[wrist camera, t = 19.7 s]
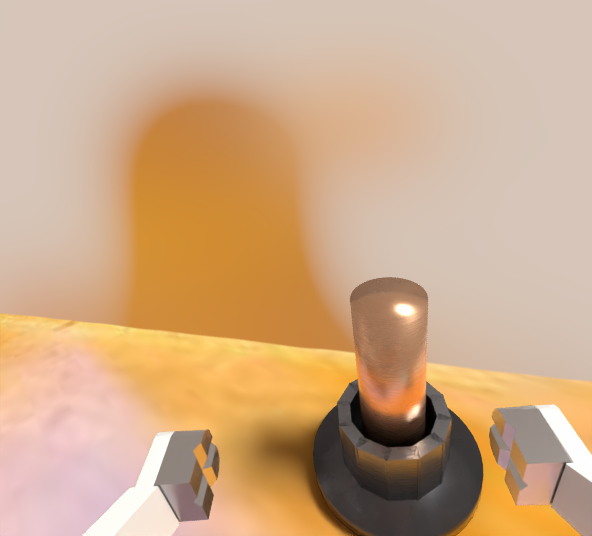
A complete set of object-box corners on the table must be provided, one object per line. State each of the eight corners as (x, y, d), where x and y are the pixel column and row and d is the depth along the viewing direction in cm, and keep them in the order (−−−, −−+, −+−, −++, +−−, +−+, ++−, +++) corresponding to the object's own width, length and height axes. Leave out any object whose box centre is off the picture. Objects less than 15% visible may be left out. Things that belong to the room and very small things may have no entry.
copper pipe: (368, 480, 31) (353, 323, 23) (361, 427, 35) (347, 281, 28) (431, 477, 30) (437, 315, 23) (416, 424, 35) (417, 274, 27)
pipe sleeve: (315, 552, 28) (303, 503, 25) (315, 402, 40) (307, 357, 37) (513, 547, 27) (525, 494, 24) (450, 393, 39) (454, 344, 36)
